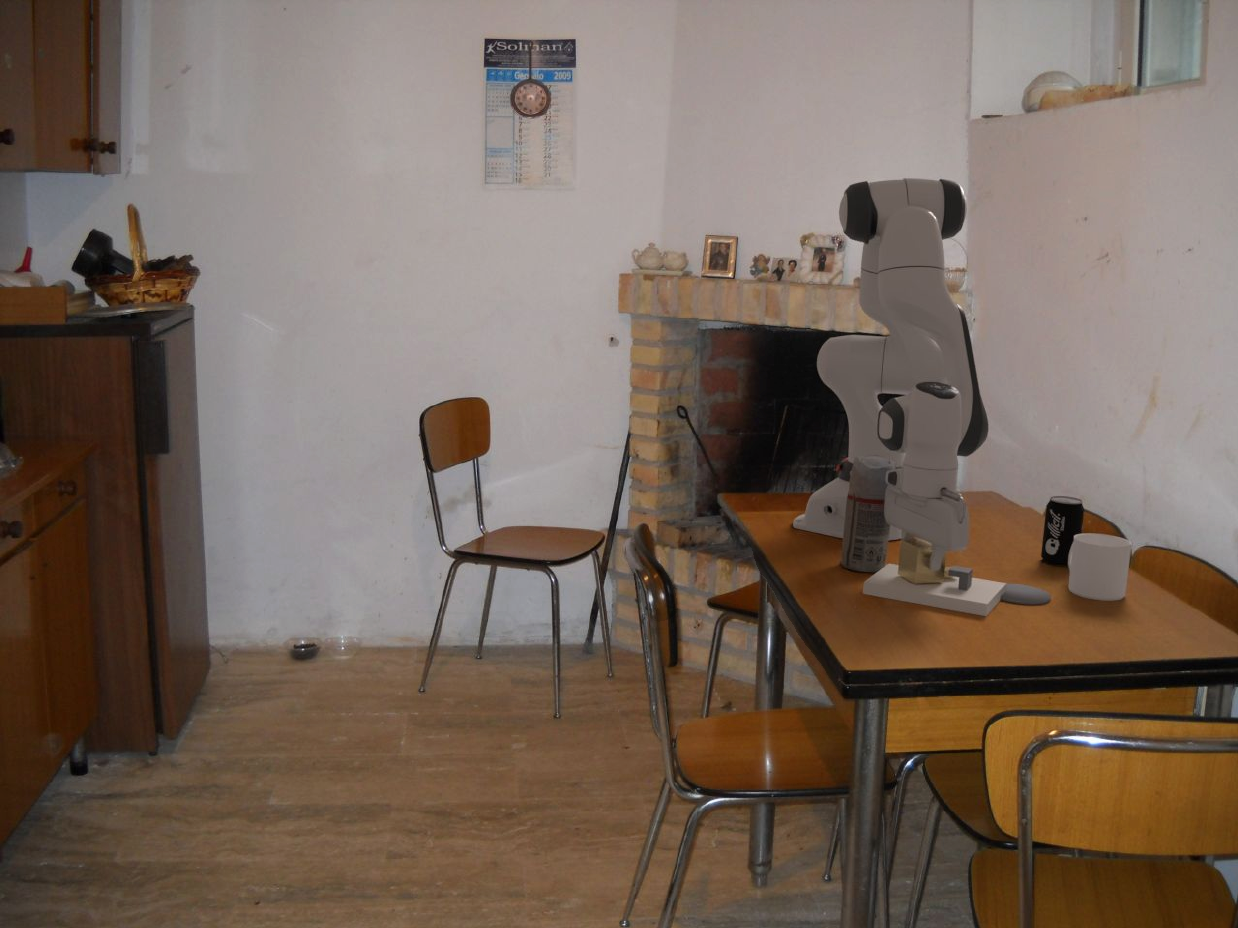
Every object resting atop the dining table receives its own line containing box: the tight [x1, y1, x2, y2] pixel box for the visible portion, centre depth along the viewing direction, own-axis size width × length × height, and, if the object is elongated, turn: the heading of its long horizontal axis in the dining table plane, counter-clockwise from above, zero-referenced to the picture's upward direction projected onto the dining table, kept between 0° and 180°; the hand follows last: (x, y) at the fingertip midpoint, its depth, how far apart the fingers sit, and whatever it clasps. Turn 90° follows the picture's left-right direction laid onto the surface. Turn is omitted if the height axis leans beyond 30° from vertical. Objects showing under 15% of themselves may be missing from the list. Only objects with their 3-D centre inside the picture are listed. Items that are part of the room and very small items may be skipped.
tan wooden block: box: [898, 538, 954, 584], centre depth 200 cm, size 9×5×6 cm, turn 108°
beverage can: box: [1040, 495, 1085, 567], centre depth 222 cm, size 7×7×12 cm
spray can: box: [839, 454, 896, 573], centre depth 212 cm, size 8×8×20 cm
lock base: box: [862, 563, 1007, 617], centre depth 199 cm, size 20×14×7 cm
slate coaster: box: [1000, 582, 1052, 606], centre depth 200 cm, size 10×10×1 cm
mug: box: [1067, 532, 1132, 602], centre depth 204 cm, size 12×9×9 cm
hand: (921, 563), depth 200 cm, fingers closed on tan wooden block, 5 cm apart
